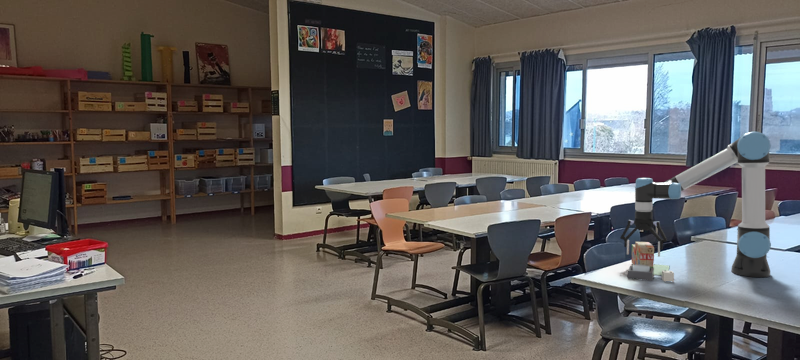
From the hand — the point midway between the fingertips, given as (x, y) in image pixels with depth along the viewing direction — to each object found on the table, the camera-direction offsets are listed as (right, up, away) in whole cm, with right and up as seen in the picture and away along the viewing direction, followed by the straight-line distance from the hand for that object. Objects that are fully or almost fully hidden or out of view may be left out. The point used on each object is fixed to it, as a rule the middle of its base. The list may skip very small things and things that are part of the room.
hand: (643, 255), depth 269 cm
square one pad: (+7, -7, -3) cm, 10 cm away
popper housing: (-8, -8, -16) cm, 19 cm away
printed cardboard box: (0, -6, +1) cm, 6 cm away
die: (+1, -8, -22) cm, 23 cm away
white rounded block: (-8, -7, -16) cm, 19 cm away
